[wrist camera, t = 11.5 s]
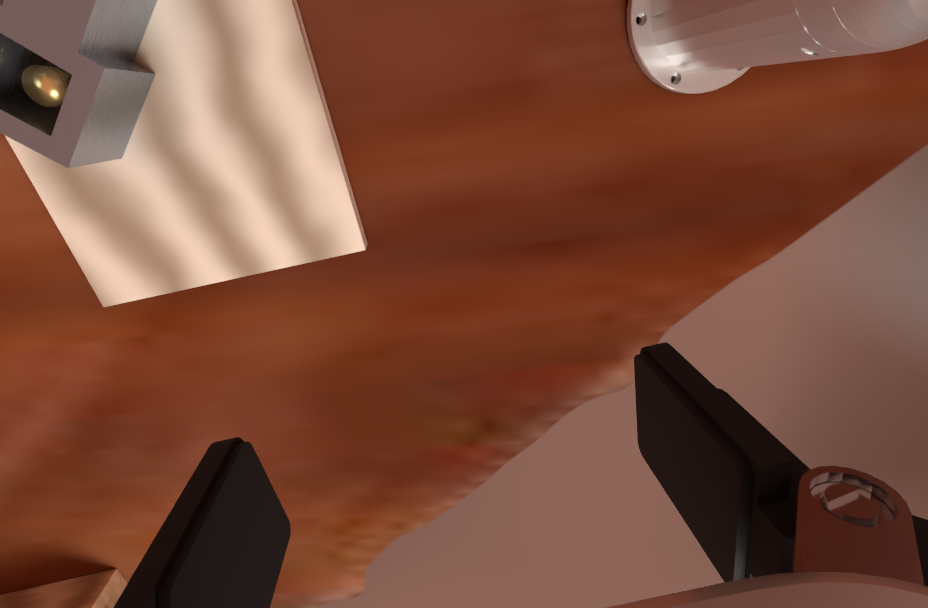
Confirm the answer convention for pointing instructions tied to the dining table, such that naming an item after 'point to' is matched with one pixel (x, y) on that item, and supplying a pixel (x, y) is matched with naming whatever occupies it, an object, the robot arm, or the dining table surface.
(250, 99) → the board
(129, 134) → the link
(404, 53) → the dining table surface
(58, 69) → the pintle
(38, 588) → the box
